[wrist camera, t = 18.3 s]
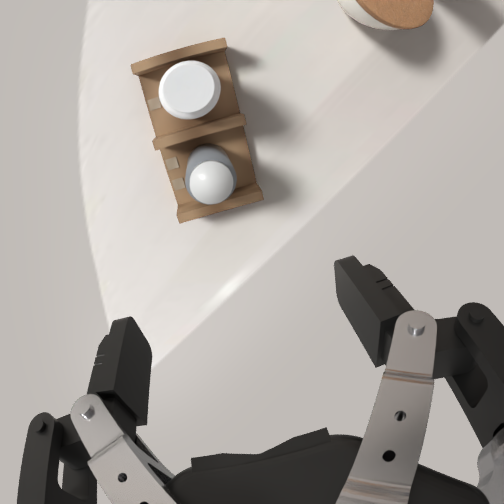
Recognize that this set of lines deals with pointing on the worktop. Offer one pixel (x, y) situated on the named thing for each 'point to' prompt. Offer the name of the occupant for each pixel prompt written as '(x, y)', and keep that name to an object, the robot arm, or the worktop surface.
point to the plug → (210, 174)
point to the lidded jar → (389, 13)
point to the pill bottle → (189, 89)
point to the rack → (199, 129)
